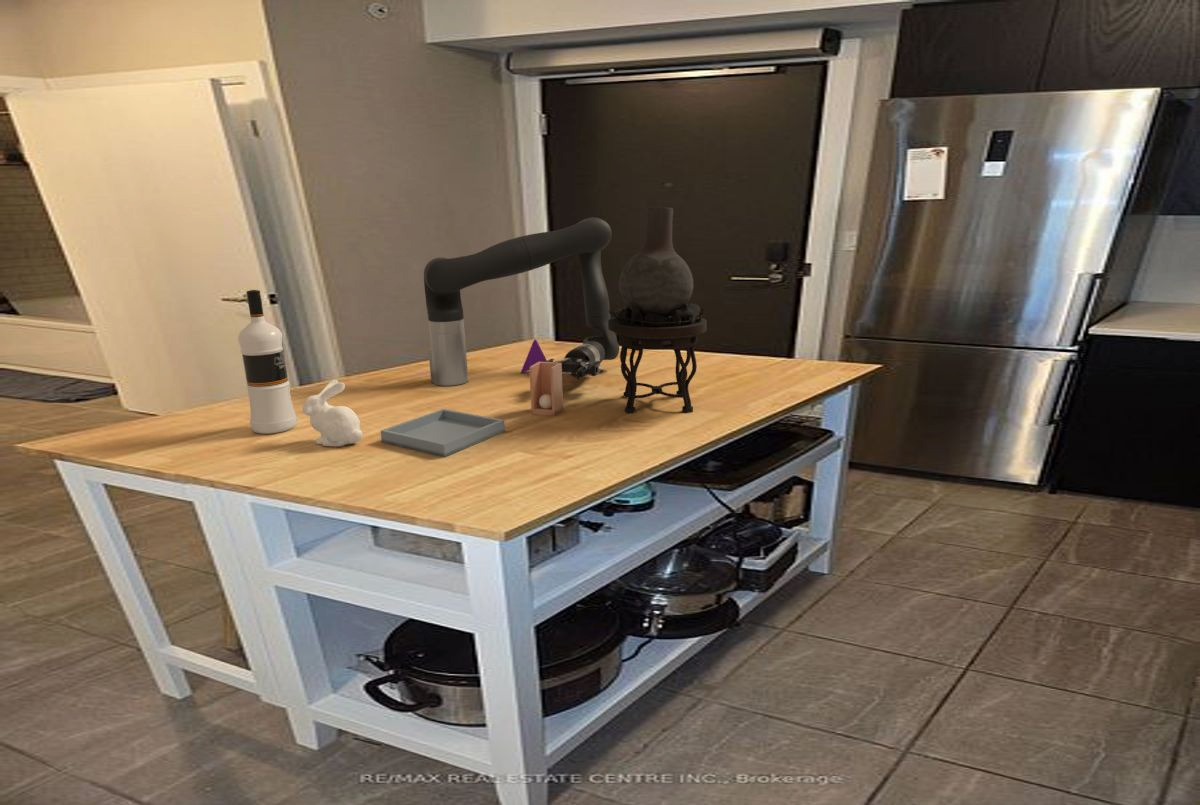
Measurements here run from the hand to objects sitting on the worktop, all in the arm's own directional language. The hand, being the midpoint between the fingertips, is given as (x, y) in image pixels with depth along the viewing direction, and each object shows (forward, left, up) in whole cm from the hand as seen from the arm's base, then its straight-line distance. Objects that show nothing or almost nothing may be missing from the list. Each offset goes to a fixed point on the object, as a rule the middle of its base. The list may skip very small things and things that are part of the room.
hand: (561, 374), depth 163 cm
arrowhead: (-23, +20, -7) cm, 32 cm away
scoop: (+3, -10, -7) cm, 12 cm away
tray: (-5, -35, -7) cm, 36 cm away
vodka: (-42, -49, -7) cm, 65 cm away
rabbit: (-23, -48, -7) cm, 54 cm away
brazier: (+22, +8, -7) cm, 24 cm away
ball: (+3, -10, -4) cm, 11 cm away
